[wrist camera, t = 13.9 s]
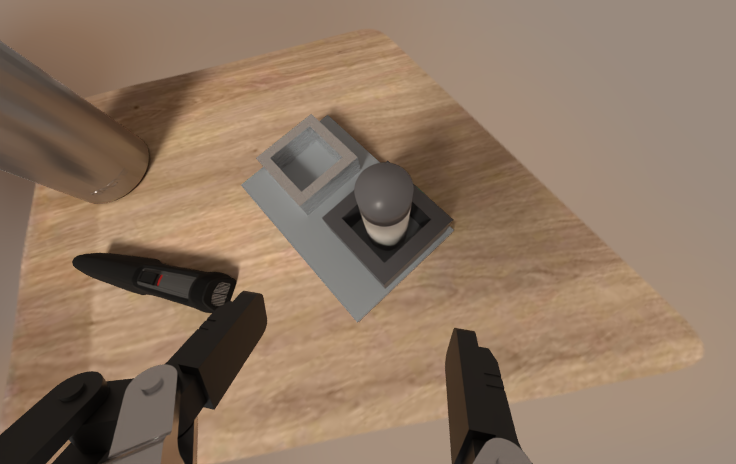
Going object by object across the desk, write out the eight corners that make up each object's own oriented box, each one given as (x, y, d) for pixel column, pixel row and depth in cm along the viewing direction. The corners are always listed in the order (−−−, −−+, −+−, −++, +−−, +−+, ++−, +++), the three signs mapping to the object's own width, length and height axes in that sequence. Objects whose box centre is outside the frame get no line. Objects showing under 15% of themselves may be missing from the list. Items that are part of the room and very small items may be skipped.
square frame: (267, 171, 29) (255, 158, 27) (317, 129, 30) (311, 113, 27) (308, 215, 27) (299, 206, 25) (360, 170, 28) (357, 157, 26)
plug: (360, 231, 26) (342, 189, 17) (387, 206, 27) (384, 151, 17) (386, 258, 25) (382, 229, 16) (414, 232, 26) (426, 188, 17)
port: (330, 230, 26) (321, 217, 23) (390, 177, 27) (390, 158, 24) (385, 289, 24) (383, 285, 21) (447, 229, 25) (455, 217, 22)
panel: (245, 189, 30) (241, 185, 29) (329, 121, 31) (327, 114, 30) (358, 322, 25) (357, 322, 24) (451, 233, 26) (454, 230, 25)
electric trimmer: (112, 247, 30) (80, 239, 27) (240, 277, 27) (220, 272, 24) (95, 281, 29) (60, 277, 26) (227, 316, 26) (204, 316, 23)
